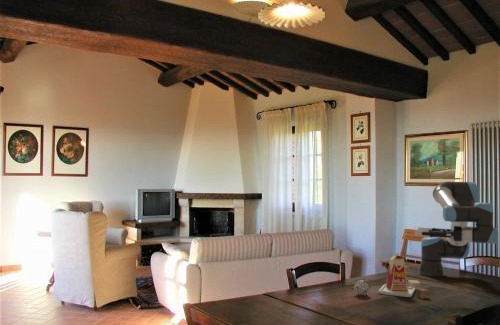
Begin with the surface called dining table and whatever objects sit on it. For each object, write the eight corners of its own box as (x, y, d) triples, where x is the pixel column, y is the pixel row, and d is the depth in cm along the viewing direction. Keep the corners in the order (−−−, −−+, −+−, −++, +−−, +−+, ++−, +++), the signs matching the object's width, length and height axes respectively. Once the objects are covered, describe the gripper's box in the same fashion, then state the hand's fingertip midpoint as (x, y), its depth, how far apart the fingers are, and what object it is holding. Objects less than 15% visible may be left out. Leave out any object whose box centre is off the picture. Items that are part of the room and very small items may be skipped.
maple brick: (408, 287, 246) (408, 280, 246) (417, 288, 245) (417, 280, 245) (410, 290, 241) (410, 282, 241) (420, 290, 240) (420, 282, 240)
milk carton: (408, 293, 231) (408, 253, 231) (390, 292, 231) (390, 253, 232) (403, 288, 240) (403, 251, 240) (385, 288, 240) (385, 250, 241)
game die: (364, 303, 226) (371, 290, 221) (348, 296, 228) (354, 283, 222) (367, 291, 234) (374, 278, 228) (351, 284, 235) (357, 271, 230)
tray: (384, 287, 246) (384, 284, 246) (415, 290, 239) (415, 287, 239) (378, 293, 232) (378, 290, 232) (411, 297, 225) (411, 294, 225)
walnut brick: (416, 296, 227) (416, 288, 227) (423, 296, 228) (423, 288, 228) (421, 298, 223) (421, 290, 223) (428, 298, 224) (428, 290, 224)
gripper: (461, 244, 211) (413, 241, 221) (463, 238, 234) (419, 236, 243) (461, 228, 212) (413, 226, 221) (462, 224, 234) (419, 222, 244)
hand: (416, 231), depth 232 cm, fingers open, 13 cm apart
